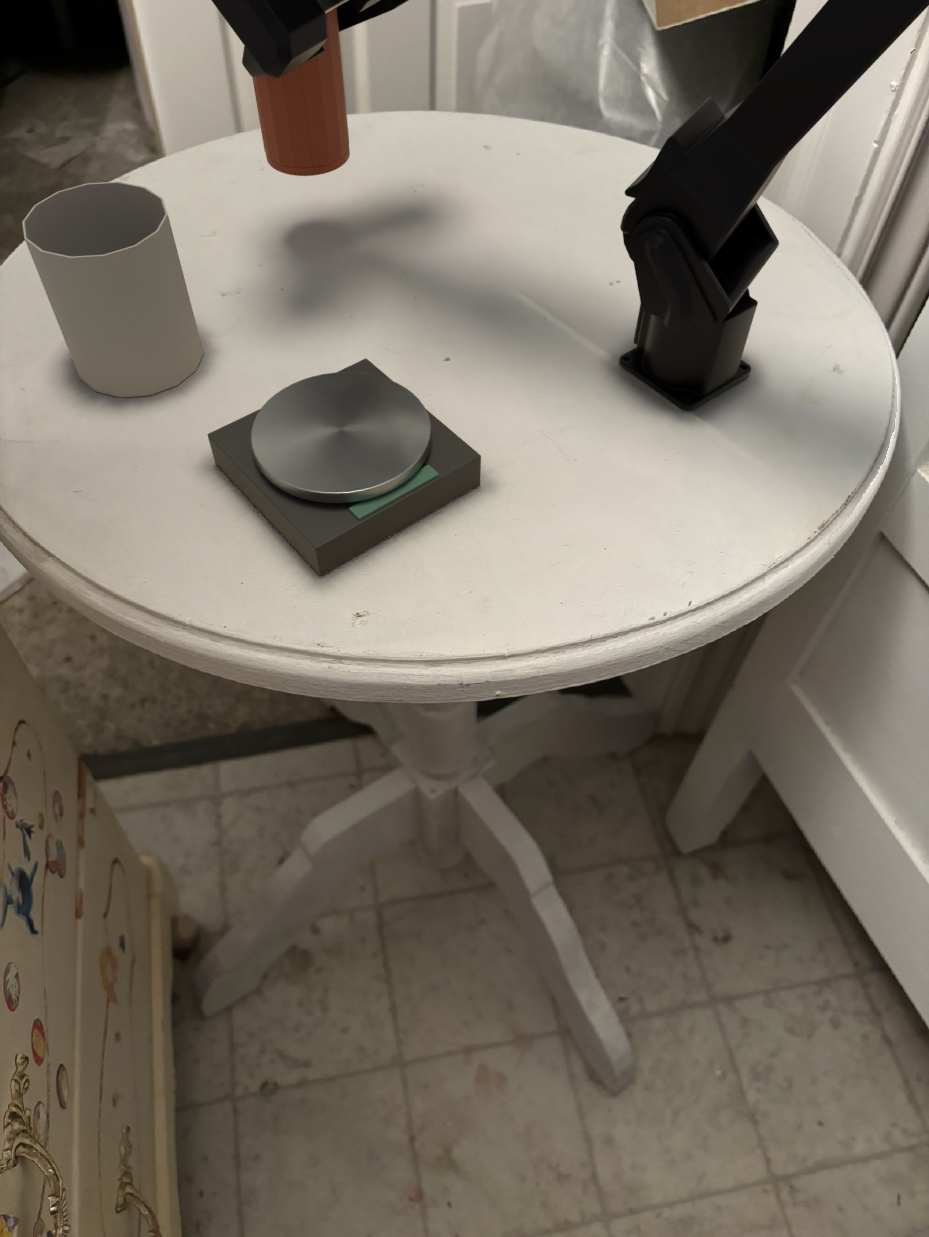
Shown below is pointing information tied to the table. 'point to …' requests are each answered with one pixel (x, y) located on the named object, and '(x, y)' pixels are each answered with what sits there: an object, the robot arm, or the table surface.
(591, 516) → the table surface
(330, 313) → the table surface
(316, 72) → the jar
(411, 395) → the scale pan
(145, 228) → the cup
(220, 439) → the scale
